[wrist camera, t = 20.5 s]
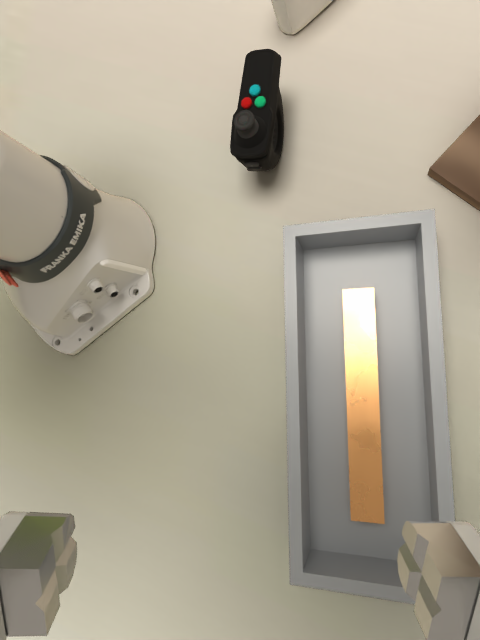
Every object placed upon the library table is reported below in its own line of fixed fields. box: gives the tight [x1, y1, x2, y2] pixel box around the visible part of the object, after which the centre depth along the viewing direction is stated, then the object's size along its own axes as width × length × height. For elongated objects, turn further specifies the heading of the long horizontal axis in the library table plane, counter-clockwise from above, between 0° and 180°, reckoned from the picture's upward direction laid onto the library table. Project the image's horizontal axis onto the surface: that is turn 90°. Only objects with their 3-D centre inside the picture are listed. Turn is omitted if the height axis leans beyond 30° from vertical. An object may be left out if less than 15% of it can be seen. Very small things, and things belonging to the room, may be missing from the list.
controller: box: [230, 49, 284, 171], centre depth 44 cm, size 4×12×10 cm, turn 172°
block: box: [343, 288, 385, 524], centre depth 40 cm, size 22×3×3 cm, turn 0°
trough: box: [283, 209, 455, 604], centre depth 40 cm, size 34×14×6 cm, turn 0°
